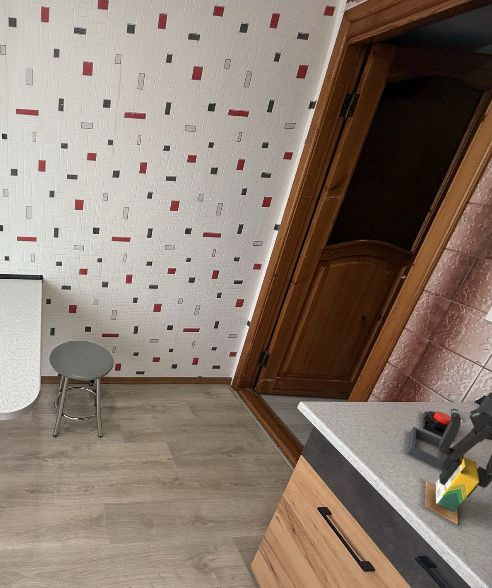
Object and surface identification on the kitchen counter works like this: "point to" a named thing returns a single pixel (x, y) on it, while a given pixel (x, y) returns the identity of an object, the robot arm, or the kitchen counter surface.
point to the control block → (433, 424)
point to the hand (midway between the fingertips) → (453, 485)
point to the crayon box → (457, 485)
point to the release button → (442, 417)
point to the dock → (422, 454)
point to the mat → (432, 505)
